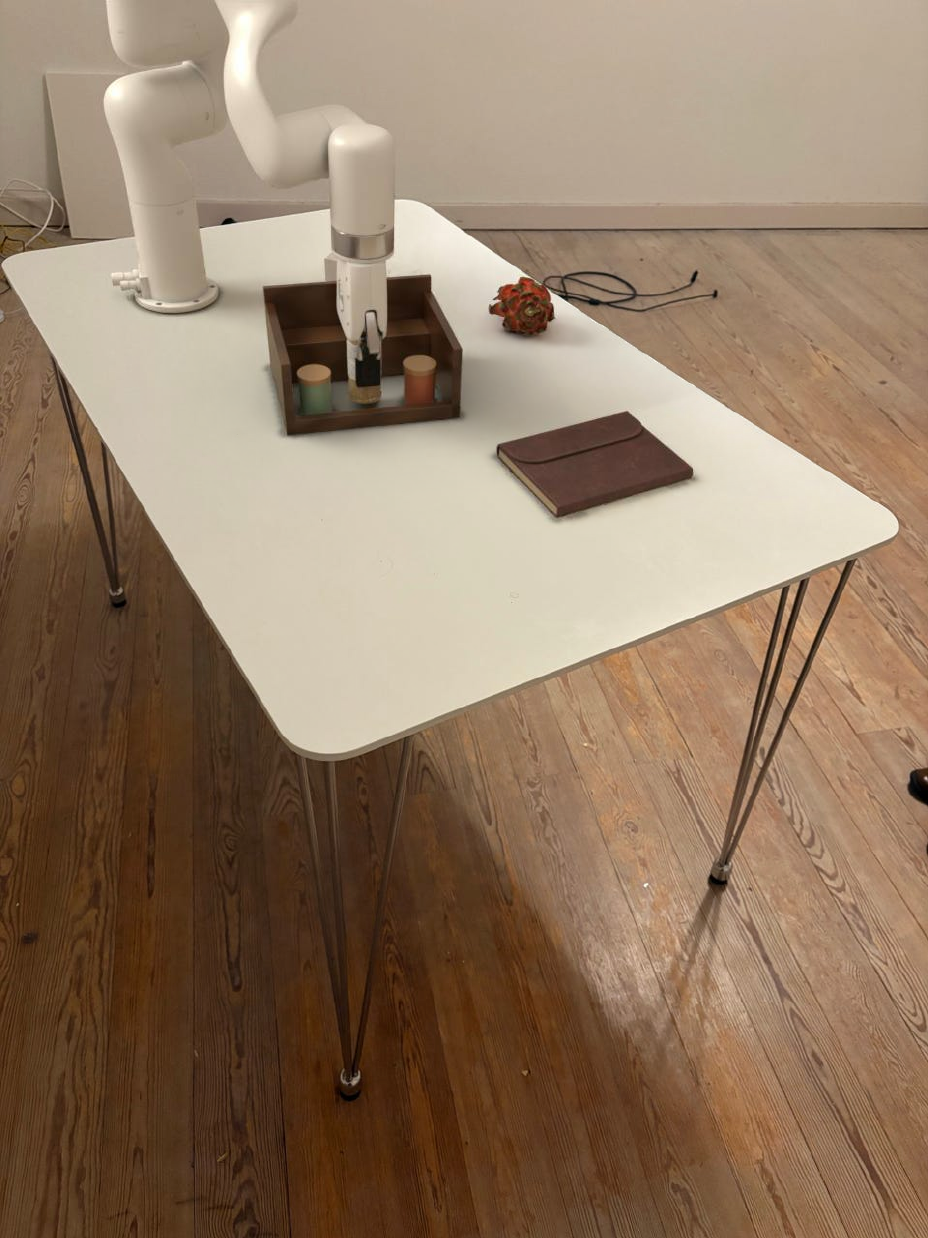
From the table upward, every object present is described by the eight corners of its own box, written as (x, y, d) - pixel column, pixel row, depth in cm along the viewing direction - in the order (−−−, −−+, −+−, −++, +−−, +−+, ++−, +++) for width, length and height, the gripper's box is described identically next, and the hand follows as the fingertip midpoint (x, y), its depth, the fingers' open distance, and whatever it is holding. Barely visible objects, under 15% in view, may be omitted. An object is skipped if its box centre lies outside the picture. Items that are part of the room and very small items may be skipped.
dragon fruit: (539, 358, 151) (497, 335, 160) (578, 316, 151) (534, 295, 160) (511, 319, 146) (469, 298, 154) (551, 275, 145) (507, 256, 154)
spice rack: (287, 435, 130) (279, 349, 122) (270, 367, 143) (262, 285, 135) (459, 417, 135) (463, 333, 127) (428, 353, 148) (430, 273, 140)
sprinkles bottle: (368, 384, 138) (367, 290, 129) (388, 398, 135) (389, 304, 126) (340, 394, 136) (337, 299, 126) (360, 409, 133) (358, 313, 124)
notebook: (692, 479, 126) (695, 466, 125) (557, 519, 119) (559, 505, 118) (623, 421, 136) (625, 408, 135) (495, 455, 129) (496, 441, 127)
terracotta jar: (406, 412, 136) (407, 372, 132) (400, 396, 139) (399, 356, 135) (438, 409, 137) (439, 369, 132) (431, 393, 140) (432, 353, 136)
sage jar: (302, 423, 133) (299, 382, 129) (297, 406, 136) (294, 365, 132) (335, 419, 134) (333, 378, 130) (330, 402, 137) (328, 362, 133)
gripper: (320, 212, 126) (325, 346, 138) (343, 271, 114) (347, 411, 127) (379, 209, 128) (380, 342, 140) (408, 267, 116) (405, 406, 128)
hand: (364, 374), depth 133 cm, fingers closed on sprinkles bottle, 4 cm apart
